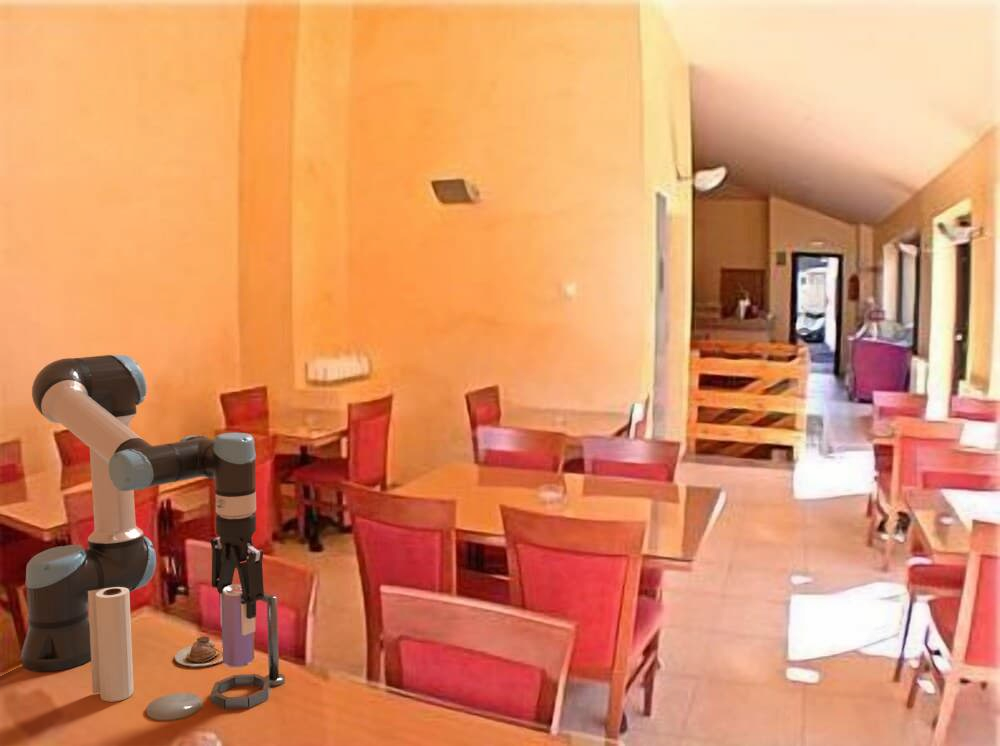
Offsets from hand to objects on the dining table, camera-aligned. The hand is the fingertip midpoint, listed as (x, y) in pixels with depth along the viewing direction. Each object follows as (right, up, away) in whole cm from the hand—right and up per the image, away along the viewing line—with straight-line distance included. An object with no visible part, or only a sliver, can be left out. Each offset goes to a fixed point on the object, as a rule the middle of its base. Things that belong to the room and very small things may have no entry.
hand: (237, 628), depth 179 cm
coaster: (-11, -14, -4) cm, 18 cm away
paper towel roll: (-25, -14, +2) cm, 28 cm away
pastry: (-13, -12, +20) cm, 27 cm away
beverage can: (0, -7, +1) cm, 7 cm away
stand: (+2, -14, +3) cm, 14 cm away
